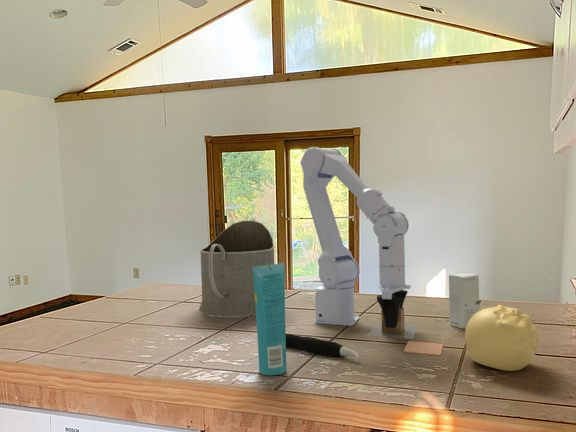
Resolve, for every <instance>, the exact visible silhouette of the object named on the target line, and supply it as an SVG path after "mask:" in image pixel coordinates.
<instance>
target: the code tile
mask: <svg viewBox="0 0 576 432" xmlns="http://www.w3.org/2000/svg"><path fill="white" fill-rule="evenodd" d="M404 328H405V329H404V331H403V332H402V334H394V333H382V323H375V324H374V326H373V327H372V328H371V329H370V331H369V332H368V333H367V334H366V335H367V336H371V337H372V336H375V337H383V338H384V337H385V338H386V337H387V338H398V339H408V340H410V339H411V340H413V339H414V337H415V336H416V333H417V331H418V329H419V326H410V325H409V326H407V325H404Z"/></svg>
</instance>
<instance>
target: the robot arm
mask: <svg viewBox="0 0 576 432" xmlns="http://www.w3.org/2000/svg"><path fill="white" fill-rule="evenodd" d="M300 166H301V169H302V172H303V173H302V174H303V180H302V181H303V183H302V184H303V190H304V193H305V197H306V201H307V204H308V207H309V211H310V214H311V218H312V221H313V224H314V227H315V231H316V234H317V237H318V242H319V246H320V247H321V254H320V255H319V257H318V259H317V263H318V277H319V280H320V281H321V283H322V284H323V285H318V286H317V288H316V291H315V321H314V323H315V324H321V325H333V326H335V325H337V326H349V327H351V326H352V327H353V325H354V324H356V323H357V321H358V320H360V316H356V313H355V312H356V311H355V310H356V309H355V308H356V306H355V285H356V281H357V280H358V278H359V276H360V265H359V264H358V262H357V261H356V259H355V258H354V257H353V254H352V251H351V250H349V249H348V248H347V247H346V246H345V245H344V244H343V240H342V237H341V233H340V231H339V227H338V223H337V220H336V218H335V217H336V216H335V214H334V211H333V207H332V205H331V202H330V198H329V195H328V191H327V187H328V185H329V183H330V182H331V181H332V180H333V179H334V177H336V178H337V179H338V180H339V181H340V182H341V183H342V184H343V185H344V186H345V187H346V188H347V189H348V190H349V192H351V193H352V194H353V195H354V196H355V197H356V206H357V207H358V208H359V209H360V210H361V212H362V213H363V214H364V216H366V218H367V219H368V220H369V221H370V223H372V229H373V232H374V234H375V236H376V238H377V244H378V262H379V264H378V266H379V267H378V268H379V269H378V270H379V271H378V272H379V277H378V278H379V284H378V288H379V290H380V291H381V294H378V295H376V300H377V301H376V302H377V303H378V305H379V307H380V308H381V310H382V312H383V316H384V320H385V324H386V327H390V328H396V325H397V320H398V312H399V307H402V308H404V302H405V300H406V297H407V295H408V293H409V292H408V290H409V289H411V288H412V286H411V284H409V283H408V284H407V283H406V265H405V264H406V263H405V262H406V260H405V257H406V256H405V254H406V253H405V251H406V250H405V235H406V234H407V233H408V230H409V220H408V219H407V217H406V215H405V213H403V212H400V211H395V210H396V208H395V206H393V205H390V203H388V202H387V200H386V199H385V198H384V197H383V192H382V191H381V190H379V189H378V190H377V189H376V188H368V186H367V185H366V184H365V182H363V180H362V179H361V178H360V177H359V175H358V173H356V171H355V170H354V169H353V168H352V167H351V165H350V163H349V161H348V159H347V157H346V156H345V155H343V154H342V152H341V151H340V150H338V149H337V148H336V149H335V148H331V149H329V148H322V147H317V146H310V147H309V148H307V149H306V150H305V151H304V153H303V155H302V157H301V159H300Z"/></svg>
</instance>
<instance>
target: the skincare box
mask: <svg viewBox="0 0 576 432" xmlns="http://www.w3.org/2000/svg"><path fill="white" fill-rule="evenodd" d="M479 283H480V281H479V274H477V273H476V274H475V273H467V272H464V273H454V274H449V275H448V301H449V302H448V303H449V307H448V308H449V310H448V311H449V326H451V327H455V328H458V329H459V328H460V329H464V330H466V327H467V324H468V322H469V320H470V319H471V317H472V316H473V315H474V314H475V313H477V312H478V311H480V284H479Z"/></svg>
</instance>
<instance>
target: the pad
mask: <svg viewBox="0 0 576 432" xmlns="http://www.w3.org/2000/svg"><path fill="white" fill-rule="evenodd" d="M443 349H444V343H434V342H423V341H412V340H411V341H410V340H408V342H407V343H406V345H405V347H404V349H403V351H402V352H403V353H410V354H418V355H419V354H420V355H428V356H429V355H430V356H440V357H441V355H442V351H443Z"/></svg>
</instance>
